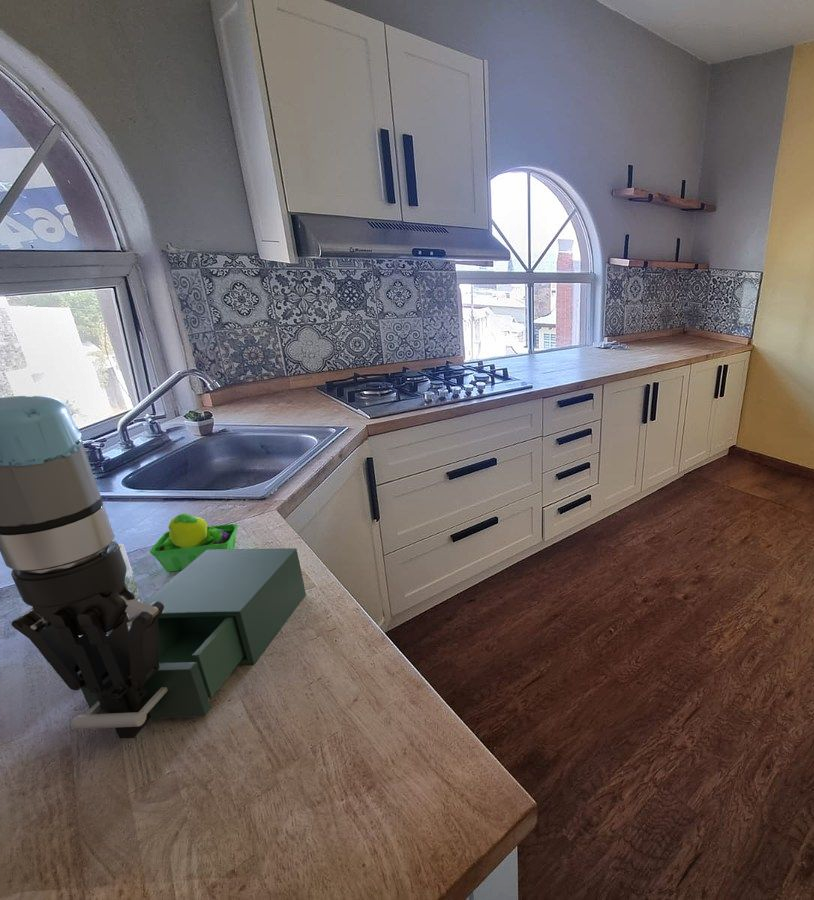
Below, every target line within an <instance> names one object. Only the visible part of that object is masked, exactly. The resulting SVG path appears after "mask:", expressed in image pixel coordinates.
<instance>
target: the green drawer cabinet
mask: <svg viewBox="0 0 814 900" xmlns="http://www.w3.org/2000/svg"><path fill="white" fill-rule="evenodd" d="M300 563H301V562H300V558H299V554H298V548H296V547H294V548H292V547H289V548H235V549H212V550H206V551H205V552H204V553H202V554H201V555H200V556H199V557H198V558H196V559H195V560H194V561H193V562H192V563H190V564H189V565H188V566H187V567H186V568H184V569H183V570H180V571H179V572H178V573H177V574H176V575H175V576H173V577H172V578H171V579H170V580H168V582H166V583H165V584H164V585H162V586H161V587H160V588H159V589H158V590H157V591H156V592H154V593H153V594H152V595H151V596H150V597H148V598H147V599H146V600H145V601H143V603H144V604H147V605H149V606H150V605H151V604H152V603H153V602H157V601H158V602H161V603H162V604H163V605H164V609H163V611H162V613H161V615H160V617H159V618H183V617H221V616H235V617H236V621H237V624H238V628H239V632H240V635H241V639H242V643H243V646H244V650H245V656H244V657H243V658H242V659H241V661H240V662H239V663H238V665H237V666H254V665H256V663H257V662H258V660H259V659H260V658H261V656H262V655H263V654H264V652H265V651H266V650H267V649H268V647H269V646H270V644H271V643H272V642H273V640H274V639H275V638H276V636H277V635H278V633H279V632H280V631H281V629H282V628H283V627H284V625H285V624H286V623H287V622H288V620H289V618H290V617H291V616H292V614H293V613H294V612H295V611H296V609H297V608H298V607H299V605H300V603H301V602H302V601H303V599H304V598H305V597H306V596H307V593H306V588H305V583H304V578H303V572H302V569H301V564H300Z"/></svg>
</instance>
